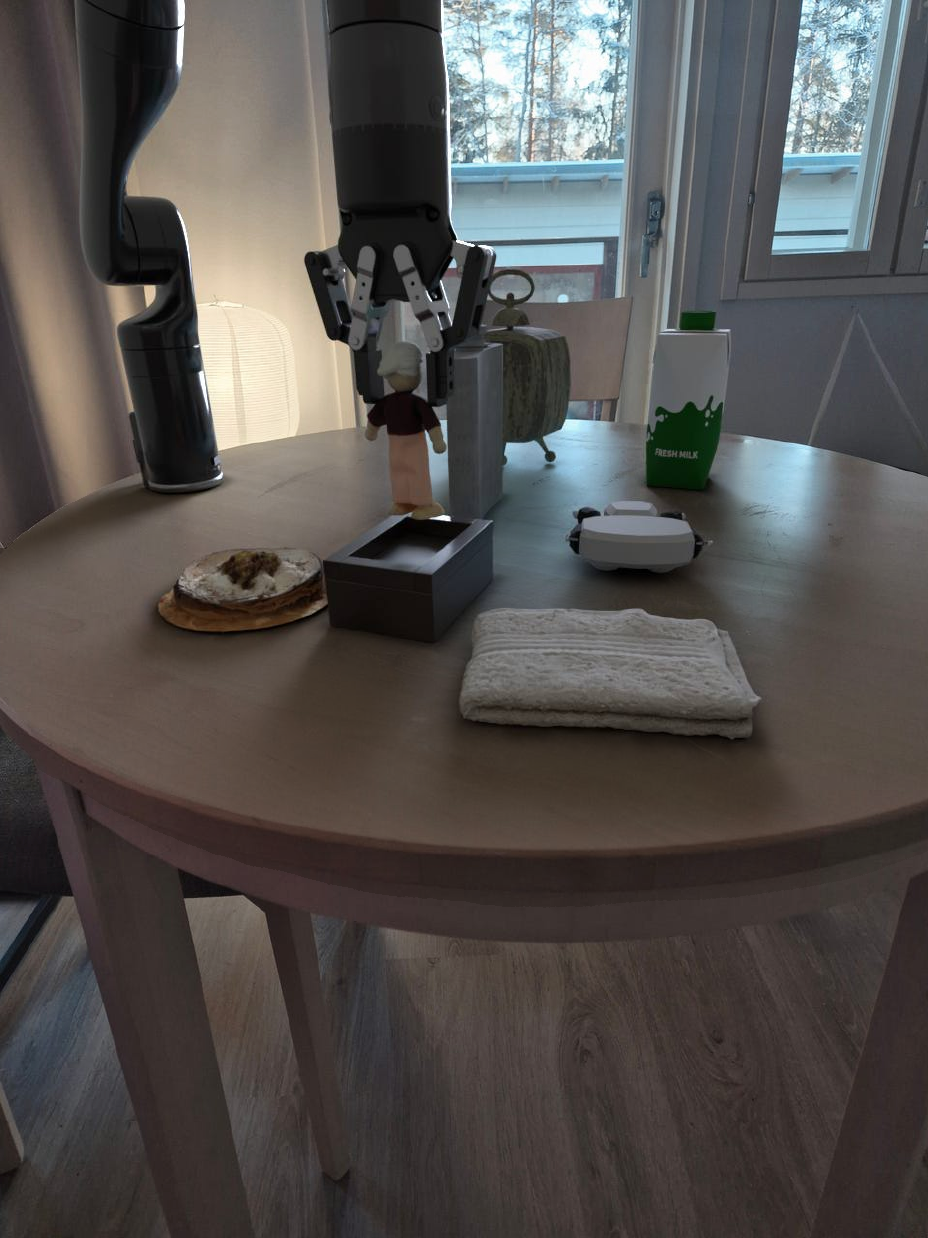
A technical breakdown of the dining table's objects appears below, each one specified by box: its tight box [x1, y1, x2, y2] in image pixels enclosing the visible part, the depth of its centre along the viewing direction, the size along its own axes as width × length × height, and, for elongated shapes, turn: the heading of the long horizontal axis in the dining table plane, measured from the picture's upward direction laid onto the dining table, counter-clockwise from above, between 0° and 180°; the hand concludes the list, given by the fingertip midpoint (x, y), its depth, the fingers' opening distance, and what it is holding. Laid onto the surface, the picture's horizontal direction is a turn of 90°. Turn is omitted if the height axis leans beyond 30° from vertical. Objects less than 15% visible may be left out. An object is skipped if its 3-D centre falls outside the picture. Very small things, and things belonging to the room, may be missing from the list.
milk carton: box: [645, 310, 732, 491], centre depth 88 cm, size 9×9×20 cm
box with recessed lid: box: [322, 513, 494, 644], centre depth 59 cm, size 9×13×6 cm
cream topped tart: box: [157, 546, 328, 632], centre depth 61 cm, size 15×15×4 cm
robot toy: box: [565, 500, 714, 574], centre depth 67 cm, size 12×4×15 cm
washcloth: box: [458, 607, 763, 740], centre depth 47 cm, size 12×18×3 cm, turn 84°
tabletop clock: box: [483, 268, 572, 467], centre depth 97 cm, size 14×9×25 cm, turn 58°
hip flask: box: [445, 324, 504, 520], centre depth 77 cm, size 16×4×20 cm, turn 167°
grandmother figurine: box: [364, 340, 448, 520], centre depth 54 cm, size 8×4×13 cm, turn 65°
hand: (405, 402), depth 53 cm, fingers closed on grandmother figurine, 4 cm apart
